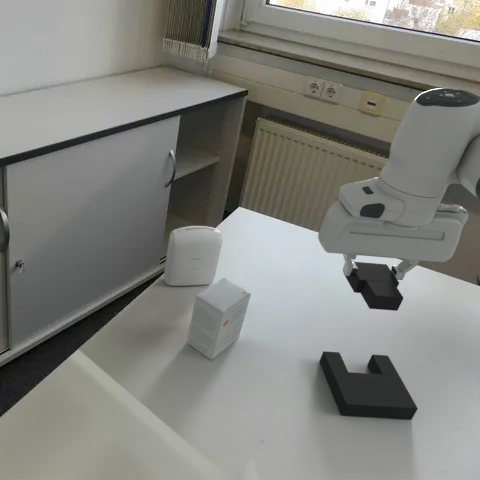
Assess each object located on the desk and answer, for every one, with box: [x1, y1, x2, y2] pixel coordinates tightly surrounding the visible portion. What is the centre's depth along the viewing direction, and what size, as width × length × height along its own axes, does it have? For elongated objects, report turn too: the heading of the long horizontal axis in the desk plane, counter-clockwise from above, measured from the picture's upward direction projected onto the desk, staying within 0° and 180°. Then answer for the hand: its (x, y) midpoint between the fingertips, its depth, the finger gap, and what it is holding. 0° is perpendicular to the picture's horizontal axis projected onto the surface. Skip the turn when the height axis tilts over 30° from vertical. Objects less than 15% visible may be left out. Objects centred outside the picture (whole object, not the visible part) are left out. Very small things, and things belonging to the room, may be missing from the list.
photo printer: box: [162, 225, 223, 287], centre depth 104 cm, size 10×4×12 cm, turn 99°
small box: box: [186, 277, 252, 361], centre depth 90 cm, size 8×6×10 cm
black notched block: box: [318, 350, 418, 421], centre depth 86 cm, size 11×11×3 cm
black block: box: [344, 261, 404, 312], centre depth 85 cm, size 9×6×3 cm
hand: (371, 275), depth 87 cm, fingers closed on black block, 6 cm apart
